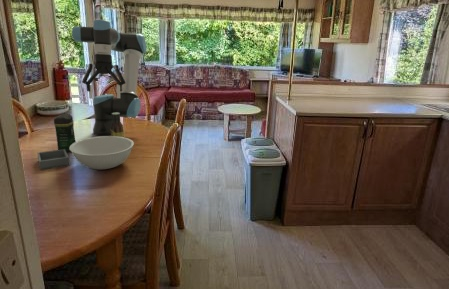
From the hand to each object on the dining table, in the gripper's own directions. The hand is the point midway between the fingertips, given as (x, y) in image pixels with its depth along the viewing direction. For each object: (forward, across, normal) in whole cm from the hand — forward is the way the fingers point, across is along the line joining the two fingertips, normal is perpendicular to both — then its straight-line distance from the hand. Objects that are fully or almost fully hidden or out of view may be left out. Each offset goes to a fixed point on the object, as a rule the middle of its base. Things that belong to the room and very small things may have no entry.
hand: (105, 98), depth 156 cm
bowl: (+29, -7, -17) cm, 35 cm away
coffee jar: (+28, -16, +13) cm, 35 cm away
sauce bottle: (+27, +6, 0) cm, 28 cm away
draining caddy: (+29, -25, -2) cm, 39 cm away
